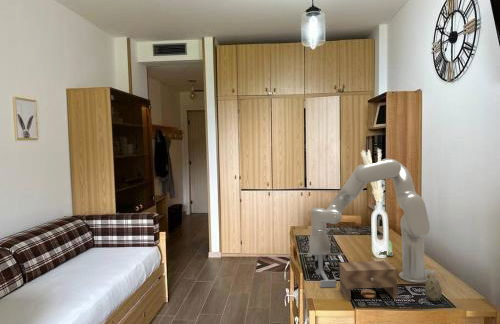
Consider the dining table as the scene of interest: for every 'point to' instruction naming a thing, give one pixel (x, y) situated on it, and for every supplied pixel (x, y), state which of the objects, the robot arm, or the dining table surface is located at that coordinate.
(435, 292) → the decorative egg
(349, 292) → the wooden bridge block
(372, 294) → the copper token
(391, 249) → the frog
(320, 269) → the grey parking meter
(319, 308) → the dining table surface
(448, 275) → the dining table surface
